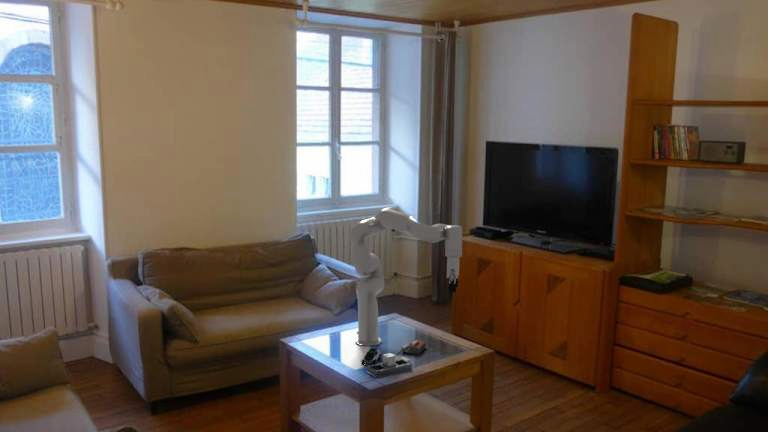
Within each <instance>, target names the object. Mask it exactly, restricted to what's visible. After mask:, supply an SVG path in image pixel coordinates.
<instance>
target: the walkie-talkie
mask: <svg viewBox="0 0 768 432" xmlns="http://www.w3.org/2000/svg"><path fill="white" fill-rule="evenodd" d="M400 348H401V349H400V350H399V351H398V352H397V353H396V355H397V356H400V355H401V353H403V352H405V353H407V354H413V355H419V354H420V353H422V351H423V350H425V348H426V341H424V340H418V339H415V340H412V341H410V343H409V344H408V343H407V344H404V345H403V346H401V347H400Z"/></svg>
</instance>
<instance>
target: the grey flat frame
mask: <svg viewBox="0 0 768 432" xmlns="http://www.w3.org/2000/svg"><path fill="white" fill-rule="evenodd" d="M412 366H413V365H412V363H411V362H410V361H408V362H407V361H405V360H403V359H402V358H401V359H397V360H396V366H394V367H389V368H387V367H385V366H383V362H380V363H376V364H375V365H372V364H371V365H367V366H366V372H367V371H368V372H370V373H371V374H373V375H374V376H376V377H378V378H380V377H379V376H382V377H385V375H386V376H389V374H390V375H394V374H397V373H401V372H402V373H403V372H406V371H411V370H412V369H413V367H412ZM410 369H411V370H410ZM368 372H367V373H368ZM371 374H370V375H371ZM373 375H372V376H373ZM374 376H373V377H374ZM376 377H375V378H376Z"/></svg>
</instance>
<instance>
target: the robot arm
mask: <svg viewBox="0 0 768 432" xmlns="http://www.w3.org/2000/svg"><path fill="white" fill-rule="evenodd" d="M462 227H463V226H461V225H459V224H458V225H457V224H450V225H448V224H446V223H445V224H444V223H436V224H433V225H429V224H425V223H422V222H419V221H418V220H417V219H415V217H414V216H413V215H412V214H408V213H405V212H402V211H400V209H399V208H398V207H396V206H389V207H385V208H381V210H379V211H378V213H377V214H376V215H374V216H372V217H369V218H366V219H363V220H360V221H358V222H357V223H355V224H354V225H353V226H352V227H351V229H350V232H349V244H350V247H351V253H352V259H353V265H354V270H355V273H356V274H357V275H359V276H361V277H365V278H363V279H361V280H360V281H359V282H358V284H357V285H356V288H355V290H356V291H355V292H356V298H357V314H358V315H357V317H358V318H357V319H358V320H357V321H358V324H357V325H358V328H357V329H358V331H357V332H356V334H357V336H358V337H357V338H359V339H358V341H357V342H358V343H359V344H362V345H367V346H366V347H372V346H373V347H374V346H377V345H380V344H382V338H380V337H379V307H378V305H379V304H378V299H377V295H379V294H380V293H381V292H382V291H383V290H384V289H385V276H384V272H383V271H384V270H383V267H382V262H381V259H380V257H379V256H378V255H377V254H375V253H372V252H371V250H370V245H369V242H368V240H367V239H368V238H370V237H373V236H376V235H378V234H380V233H382V232H384V231H385V230H387V229H393V230H395V231H399V232H402V233H406V234H407V235H409V236H410V237H413V238H415V239H416V240H420V241H424V242H428V243H431V244H432V243H433V244H434V243H438V242H440V241H443V240H445V243H444V245H445V247H444V250H445V254H444V255H445V257H447V258H446V259H447V260H446V279H449V281H448V292H449V293H454V294H455V293H456V292H457V288H458V287H459V278H458V277H459V275H460V258H461V257H463V228H462ZM362 345H361V346H362Z"/></svg>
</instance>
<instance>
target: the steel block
mask: <svg viewBox="0 0 768 432" xmlns="http://www.w3.org/2000/svg"><path fill="white" fill-rule="evenodd" d="M396 355H397V354H393V353H392V352H388V353H384V354H382V363H383V366H385V367H387V368H389V367H394V366H396Z"/></svg>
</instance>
